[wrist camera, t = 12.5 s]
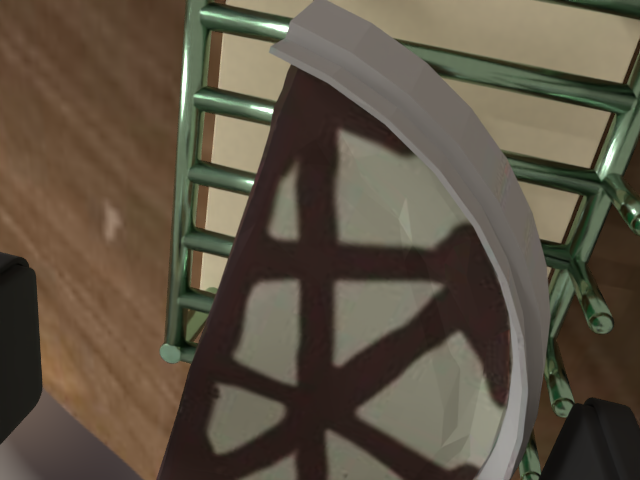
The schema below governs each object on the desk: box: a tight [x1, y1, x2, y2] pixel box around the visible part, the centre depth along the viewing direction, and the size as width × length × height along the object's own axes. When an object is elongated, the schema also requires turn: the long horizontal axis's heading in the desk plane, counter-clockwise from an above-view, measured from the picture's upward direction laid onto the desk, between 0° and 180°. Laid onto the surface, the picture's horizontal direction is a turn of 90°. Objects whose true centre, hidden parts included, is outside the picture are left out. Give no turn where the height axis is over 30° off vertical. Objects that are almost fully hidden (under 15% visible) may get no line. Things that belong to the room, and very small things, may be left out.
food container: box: [156, 0, 551, 480], centre depth 14 cm, size 12×6×10 cm, turn 160°
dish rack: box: [160, 0, 640, 480], centre depth 19 cm, size 14×16×9 cm
